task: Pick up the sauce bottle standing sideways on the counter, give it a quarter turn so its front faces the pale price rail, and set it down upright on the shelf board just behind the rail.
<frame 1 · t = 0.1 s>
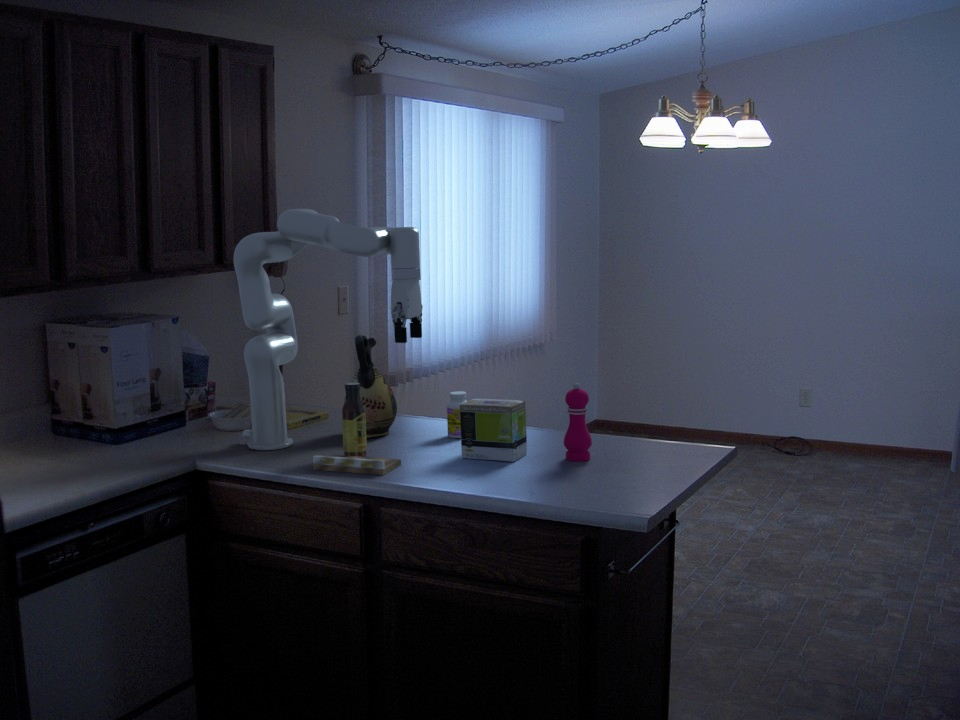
hand: (408, 340, 263), 31 cm above the worktop, tool pointing down, fingers open, 9 cm apart
supplement bottle: (459, 437, 289), on the worktop
sauce bottle: (355, 457, 269), on the worktop
ceramic jug: (370, 436, 294), on the worktop
pepper mill: (578, 459, 259), on the worktop
tea box: (494, 457, 265), on the worktop
shelf: (357, 467, 257), on the worktop
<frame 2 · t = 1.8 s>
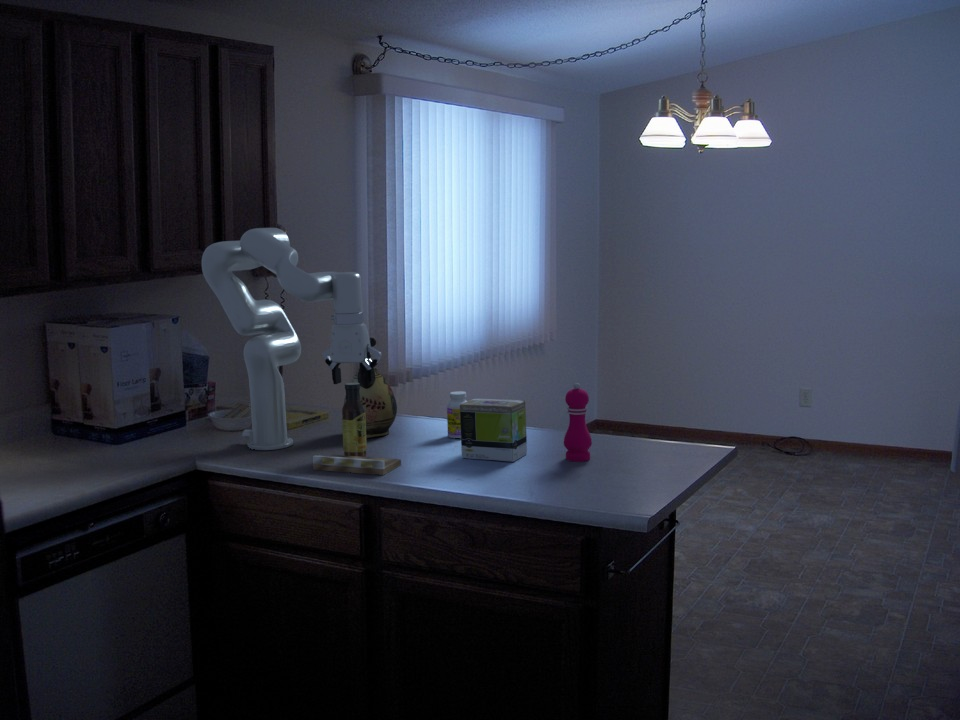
hand: (353, 383, 265), 20 cm above the worktop, tool pointing down, fingers open, 9 cm apart
nothing on the worktop moved.
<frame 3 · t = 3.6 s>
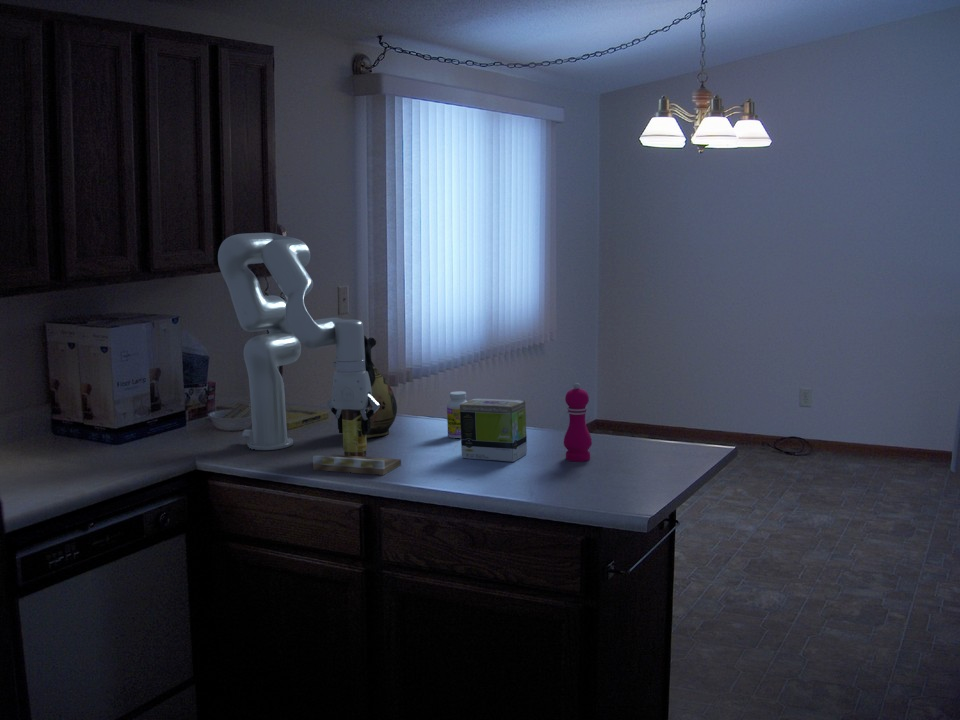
hand: (354, 432, 268), 7 cm above the worktop, tool pointing down, fingers closed on sauce bottle, 6 cm apart
sauce bottle: (355, 457, 269), on the worktop, touching gripper
everything else where it was.
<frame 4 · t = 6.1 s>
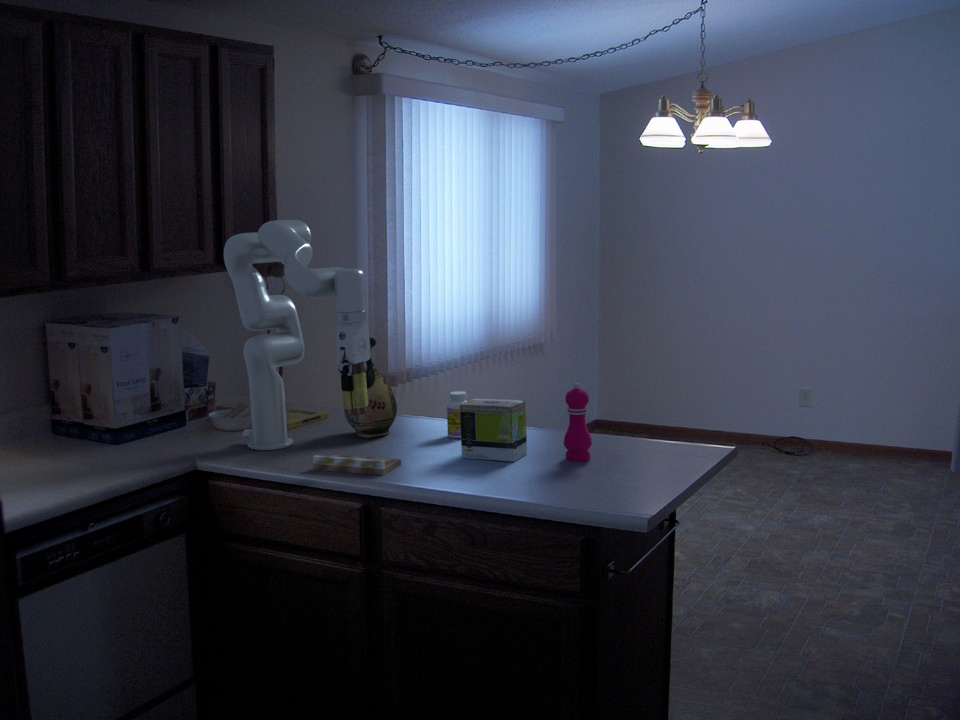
hand: (354, 387, 255), 21 cm above the worktop, tool pointing down, fingers closed on sauce bottle, 6 cm apart
sauce bottle: (355, 414, 256), point 14 cm above the worktop, touching gripper
everything else where it was.
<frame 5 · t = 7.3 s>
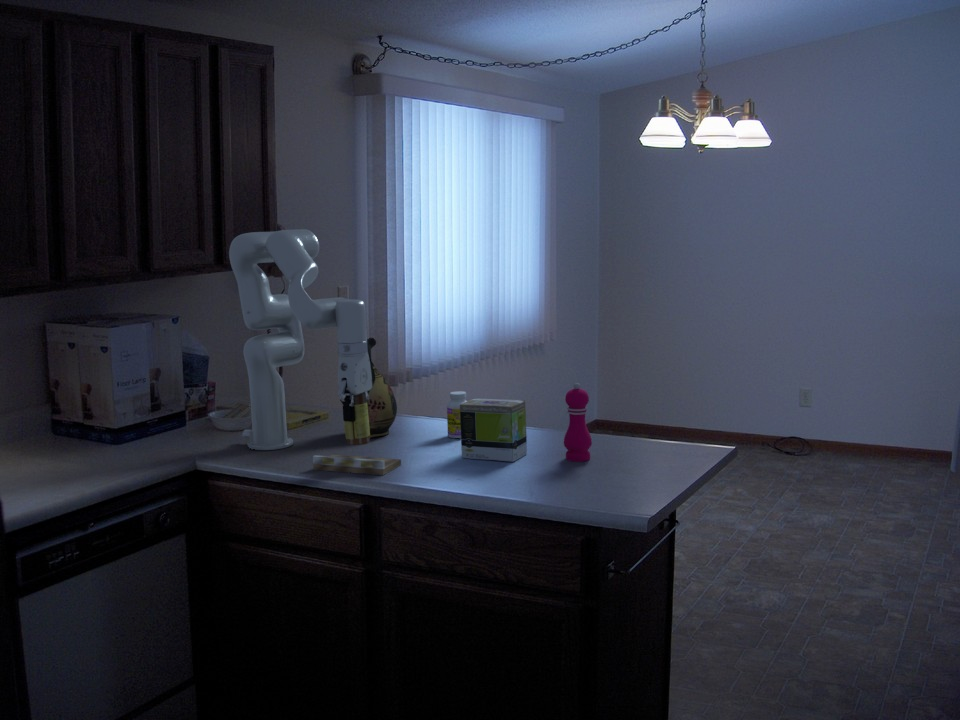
hand: (356, 417, 256), 13 cm above the worktop, tool pointing down, fingers closed on sauce bottle, 6 cm apart
sauce bottle: (357, 444, 257), point 6 cm above the worktop, touching gripper
everything else where it was.
when the fingers open (9 cm above the worktop, at t = 8.6 s): sauce bottle stays where it is, resting on shelf.
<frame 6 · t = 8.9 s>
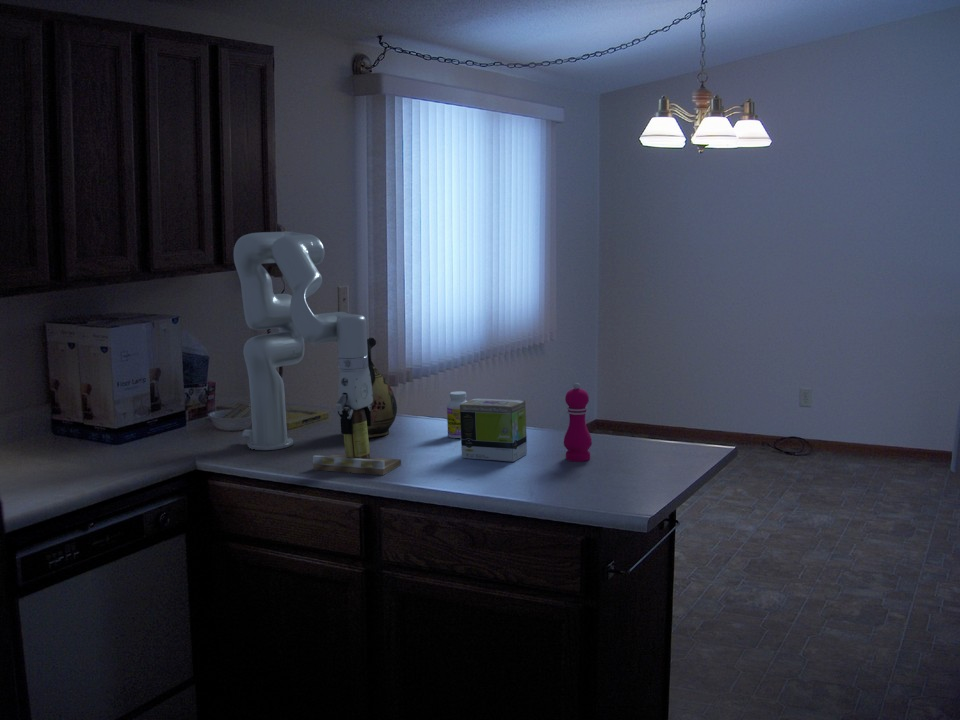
hand: (356, 429, 256), 10 cm above the worktop, tool pointing down, fingers open, 9 cm apart
sauce bottle: (357, 461, 258), point 1 cm above the worktop, touching shelf
everything else where it was.
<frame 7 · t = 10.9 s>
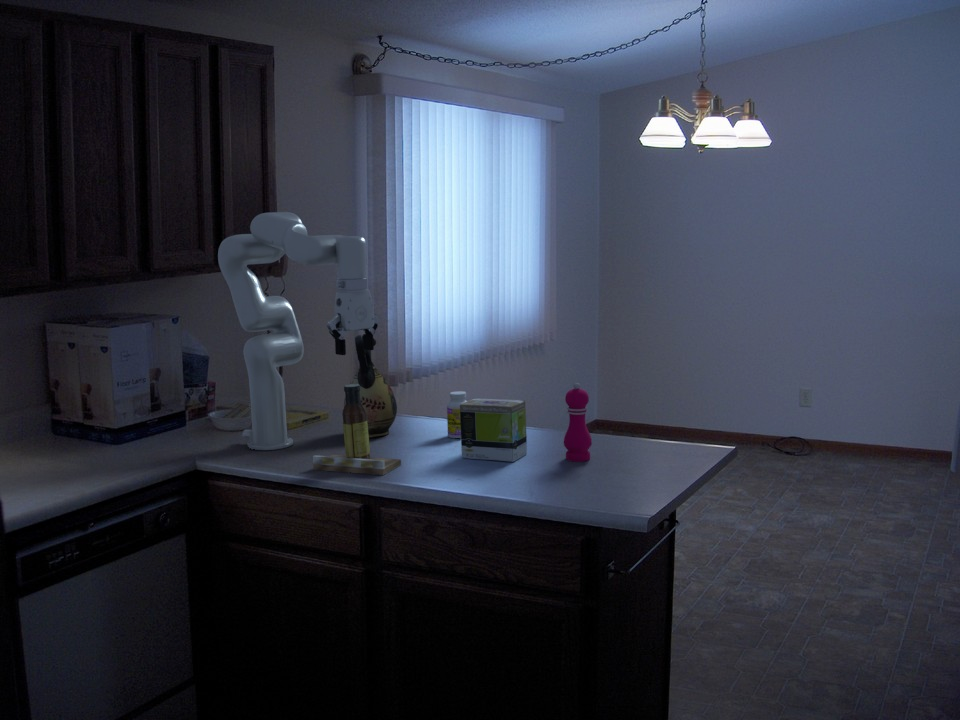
hand: (354, 352, 257), 29 cm above the worktop, tool pointing down, fingers open, 9 cm apart
nothing on the worktop moved.
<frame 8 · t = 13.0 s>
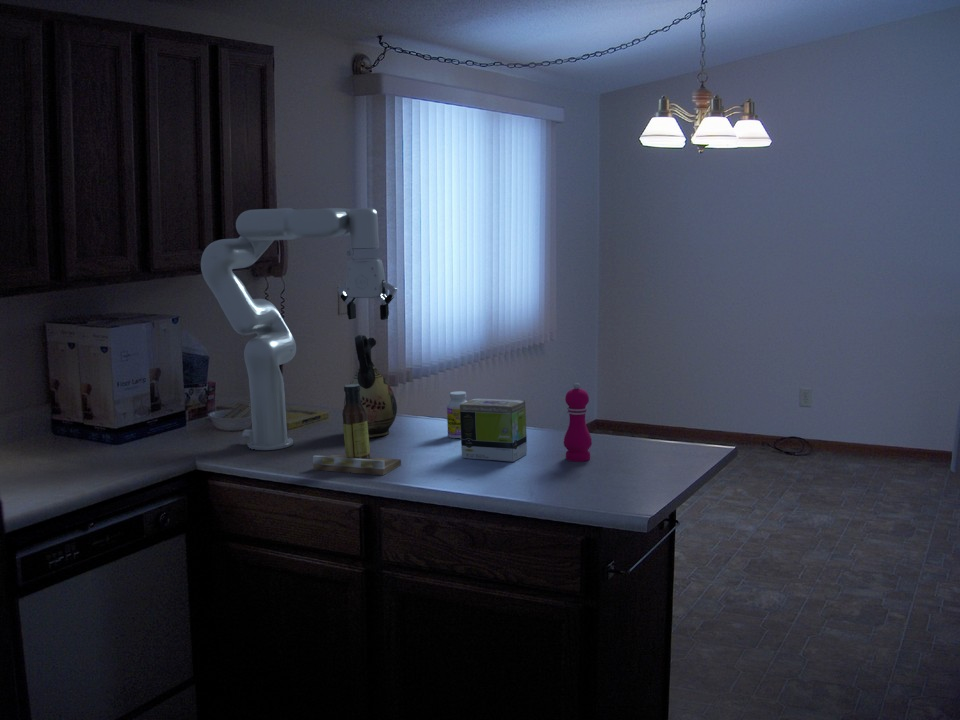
hand: (368, 319, 269), 36 cm above the worktop, tool pointing down, fingers open, 9 cm apart
nothing on the worktop moved.
at the end: sauce bottle inside the target area on the shelf (0.8 cm from its centre), point 1.3 cm above the shelf's base; sauce bottle tilted 0°; the gripper is holding nothing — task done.
